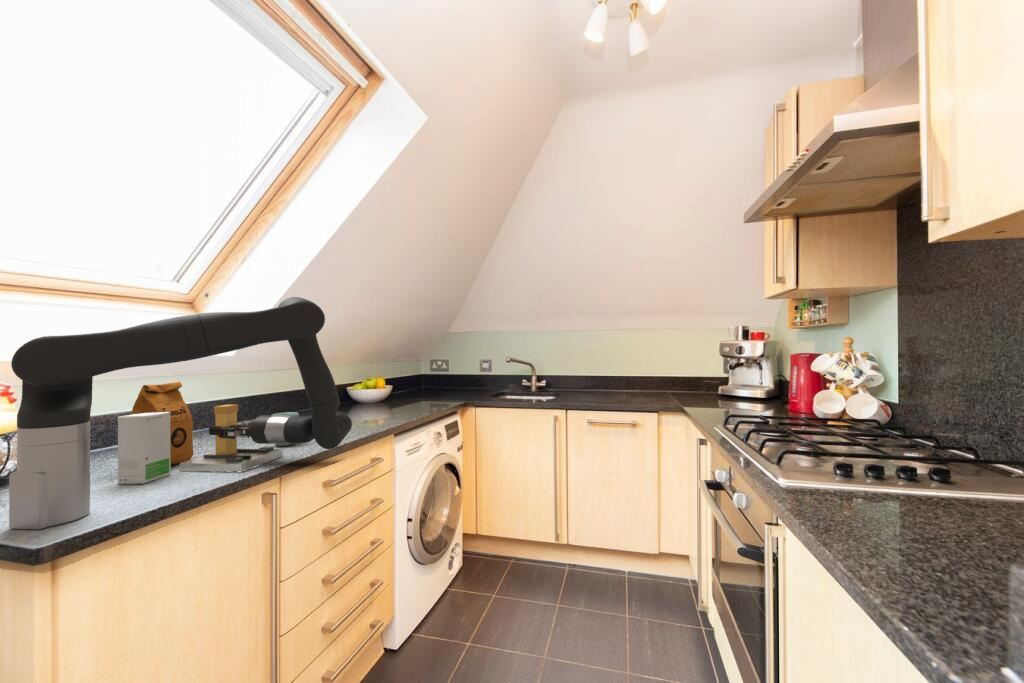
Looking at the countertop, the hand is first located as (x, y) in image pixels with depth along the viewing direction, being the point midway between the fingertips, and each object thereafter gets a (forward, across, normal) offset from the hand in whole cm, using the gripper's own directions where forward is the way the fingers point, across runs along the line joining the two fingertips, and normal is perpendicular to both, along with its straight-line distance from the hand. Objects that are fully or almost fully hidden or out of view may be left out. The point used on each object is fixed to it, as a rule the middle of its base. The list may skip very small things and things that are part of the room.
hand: (217, 429), depth 119 cm
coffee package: (+12, +4, +9) cm, 16 cm away
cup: (-6, -21, +9) cm, 24 cm away
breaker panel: (-6, +1, +9) cm, 11 cm away
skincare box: (+5, +16, +9) cm, 19 cm away
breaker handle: (-3, 0, +7) cm, 7 cm away
